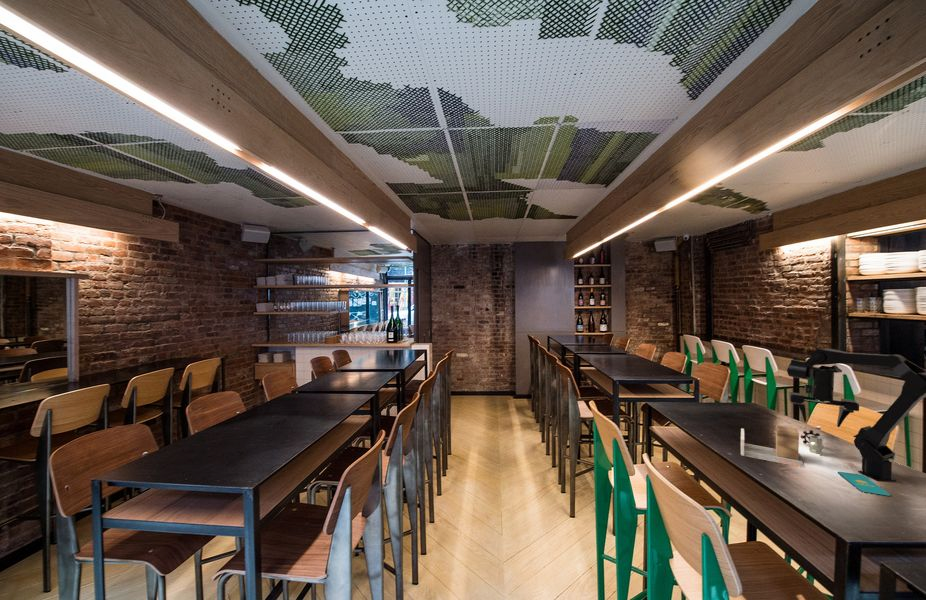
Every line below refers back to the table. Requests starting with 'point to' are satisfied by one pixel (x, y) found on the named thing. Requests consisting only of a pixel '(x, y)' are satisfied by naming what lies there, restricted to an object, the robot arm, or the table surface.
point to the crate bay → (755, 453)
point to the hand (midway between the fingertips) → (821, 424)
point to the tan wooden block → (787, 442)
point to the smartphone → (863, 484)
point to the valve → (813, 442)
